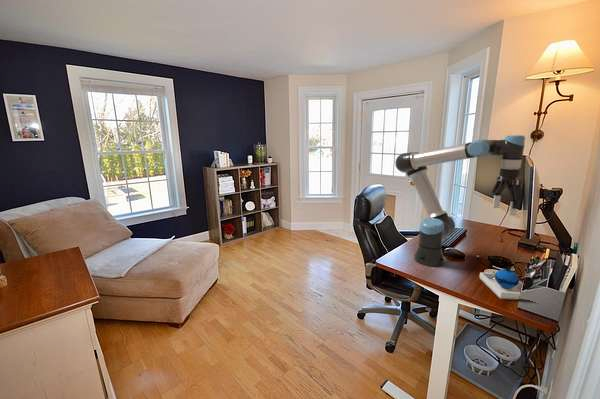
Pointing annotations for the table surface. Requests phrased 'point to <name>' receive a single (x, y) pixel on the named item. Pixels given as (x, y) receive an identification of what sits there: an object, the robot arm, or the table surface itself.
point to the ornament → (507, 278)
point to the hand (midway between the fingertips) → (503, 211)
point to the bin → (499, 290)
